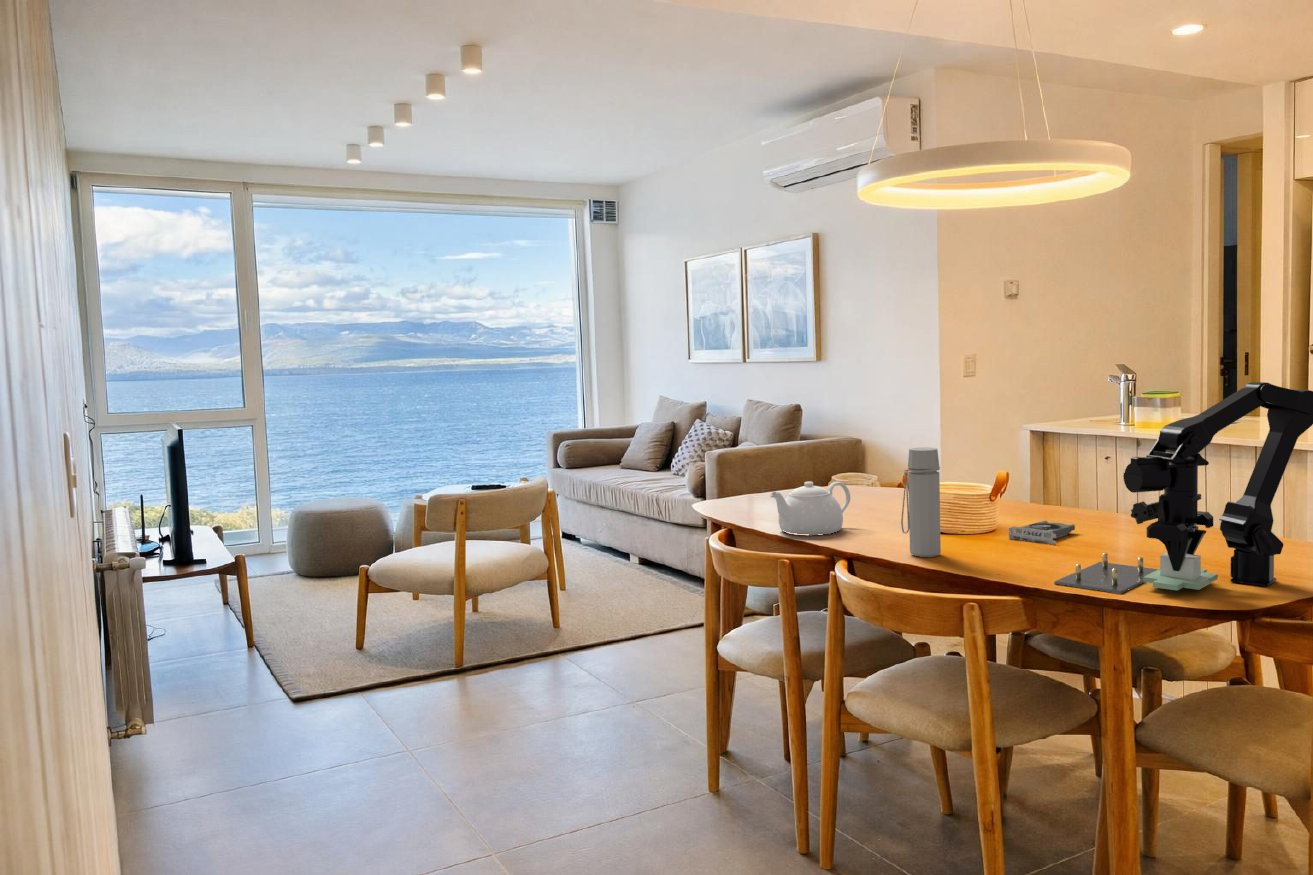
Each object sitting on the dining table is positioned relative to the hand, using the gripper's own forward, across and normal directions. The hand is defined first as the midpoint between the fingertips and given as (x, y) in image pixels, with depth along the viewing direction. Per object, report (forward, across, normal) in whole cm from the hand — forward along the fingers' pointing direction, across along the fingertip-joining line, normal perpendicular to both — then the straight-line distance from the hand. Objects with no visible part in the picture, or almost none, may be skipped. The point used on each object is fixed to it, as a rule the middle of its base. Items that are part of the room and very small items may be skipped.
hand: (1180, 568), depth 190 cm
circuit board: (+2, 0, 0) cm, 2 cm away
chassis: (+4, 0, -13) cm, 14 cm away
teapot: (+4, -8, -95) cm, 96 cm away
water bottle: (+4, +2, -56) cm, 56 cm away
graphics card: (+5, -33, -42) cm, 54 cm away
